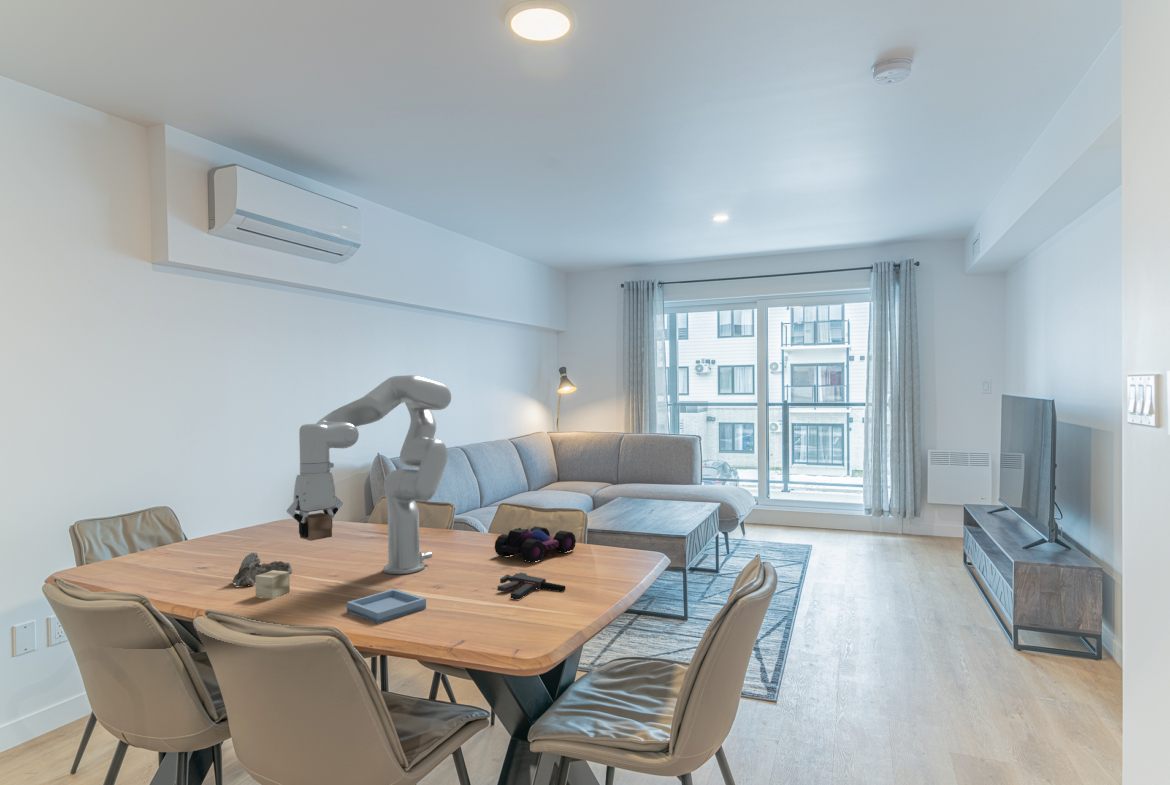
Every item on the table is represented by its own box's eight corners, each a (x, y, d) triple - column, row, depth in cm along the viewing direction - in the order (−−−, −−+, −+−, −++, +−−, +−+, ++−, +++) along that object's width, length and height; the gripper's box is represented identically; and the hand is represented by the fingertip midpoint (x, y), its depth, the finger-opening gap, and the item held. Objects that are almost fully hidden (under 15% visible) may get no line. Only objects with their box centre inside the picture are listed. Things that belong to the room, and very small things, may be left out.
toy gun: (546, 598, 169) (569, 580, 182) (484, 586, 176) (511, 569, 190) (546, 610, 169) (569, 590, 183) (484, 597, 176) (511, 579, 190)
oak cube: (273, 591, 183) (272, 570, 183) (289, 593, 181) (289, 571, 181) (255, 597, 178) (255, 575, 178) (272, 599, 176) (272, 577, 176)
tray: (394, 598, 175) (394, 588, 175) (426, 608, 166) (426, 598, 166) (347, 611, 164) (346, 602, 164) (378, 623, 155) (377, 613, 155)
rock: (243, 587, 186) (238, 553, 188) (225, 595, 191) (220, 562, 193) (301, 576, 200) (295, 544, 203) (282, 584, 206) (277, 553, 208)
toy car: (578, 551, 226) (577, 522, 226) (527, 566, 207) (526, 535, 207) (543, 544, 237) (543, 517, 237) (491, 558, 217) (491, 528, 218)
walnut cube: (321, 534, 181) (320, 512, 181) (332, 536, 177) (331, 514, 177) (300, 537, 176) (299, 516, 176) (310, 540, 172) (310, 518, 172)
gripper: (337, 465, 185) (338, 527, 185) (276, 471, 172) (278, 538, 172) (351, 466, 181) (352, 531, 181) (289, 473, 167) (291, 542, 167)
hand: (316, 534), depth 176 cm, fingers closed on walnut cube, 6 cm apart
